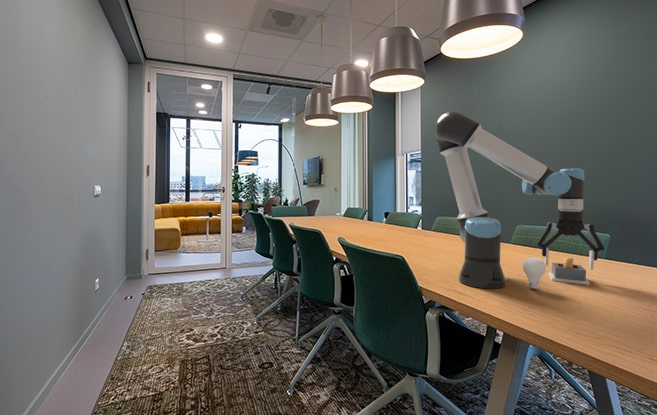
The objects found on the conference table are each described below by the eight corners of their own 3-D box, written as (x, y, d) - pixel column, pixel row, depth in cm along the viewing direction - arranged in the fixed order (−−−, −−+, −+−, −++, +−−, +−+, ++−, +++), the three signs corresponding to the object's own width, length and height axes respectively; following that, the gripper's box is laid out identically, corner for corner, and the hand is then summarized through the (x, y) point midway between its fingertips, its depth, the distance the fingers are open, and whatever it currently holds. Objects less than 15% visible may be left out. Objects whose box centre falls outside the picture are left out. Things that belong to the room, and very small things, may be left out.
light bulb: (543, 288, 111) (544, 256, 111) (547, 293, 105) (548, 260, 105) (521, 285, 114) (521, 254, 114) (523, 291, 108) (524, 258, 108)
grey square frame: (555, 278, 120) (555, 267, 120) (551, 272, 128) (552, 262, 128) (585, 281, 116) (586, 270, 116) (580, 275, 124) (580, 264, 124)
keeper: (552, 280, 120) (552, 259, 120) (548, 274, 129) (549, 254, 129) (589, 284, 115) (590, 262, 115) (583, 277, 124) (583, 257, 123)
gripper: (531, 210, 123) (530, 265, 124) (617, 212, 111) (614, 273, 113) (530, 209, 130) (528, 261, 131) (610, 210, 118) (608, 268, 119)
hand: (568, 266), depth 122 cm, fingers open, 13 cm apart
